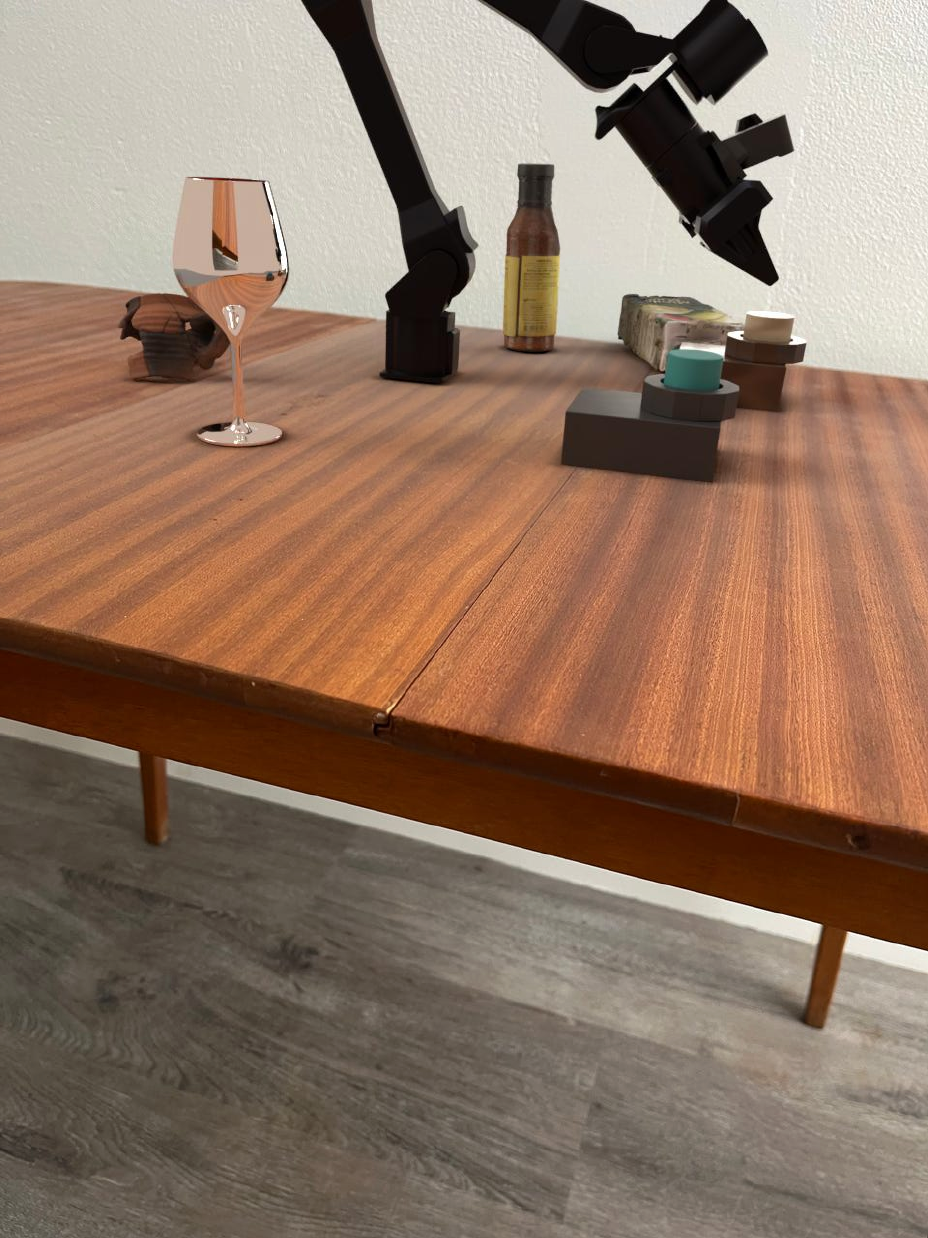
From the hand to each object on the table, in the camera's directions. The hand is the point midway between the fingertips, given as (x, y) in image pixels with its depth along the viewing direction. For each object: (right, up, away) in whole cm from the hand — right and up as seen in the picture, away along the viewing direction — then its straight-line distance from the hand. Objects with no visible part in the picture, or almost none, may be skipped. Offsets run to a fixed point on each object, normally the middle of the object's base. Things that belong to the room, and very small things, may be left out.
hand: (774, 282), depth 93 cm
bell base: (-3, -9, +5) cm, 11 cm away
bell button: (0, -5, +2) cm, 5 cm away
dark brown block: (-15, -19, -16) cm, 30 cm away
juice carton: (-4, -1, +23) cm, 24 cm away
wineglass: (-46, -18, -17) cm, 52 cm away
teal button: (-12, -14, -19) cm, 27 cm away
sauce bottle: (-22, 0, +24) cm, 32 cm away
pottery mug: (-56, -8, +2) cm, 57 cm away
